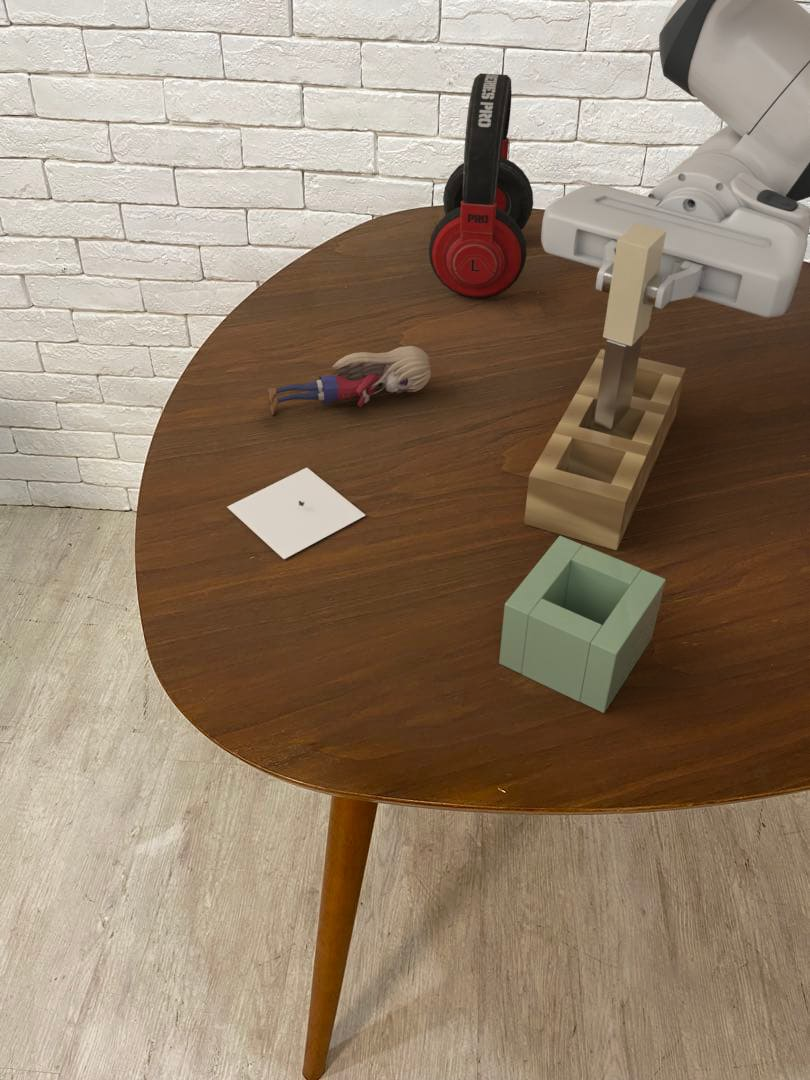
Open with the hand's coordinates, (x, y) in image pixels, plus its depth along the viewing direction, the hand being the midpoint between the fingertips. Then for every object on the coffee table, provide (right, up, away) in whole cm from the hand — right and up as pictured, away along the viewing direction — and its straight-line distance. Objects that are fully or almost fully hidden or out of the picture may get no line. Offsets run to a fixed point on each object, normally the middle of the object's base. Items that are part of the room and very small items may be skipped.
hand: (629, 290), depth 77 cm
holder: (-4, -26, -3) cm, 27 cm away
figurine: (-22, -6, +19) cm, 29 cm away
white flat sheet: (-25, -16, +8) cm, 31 cm away
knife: (0, -8, +9) cm, 12 cm away
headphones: (-8, +11, +38) cm, 40 cm away
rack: (0, -12, +12) cm, 17 cm away
